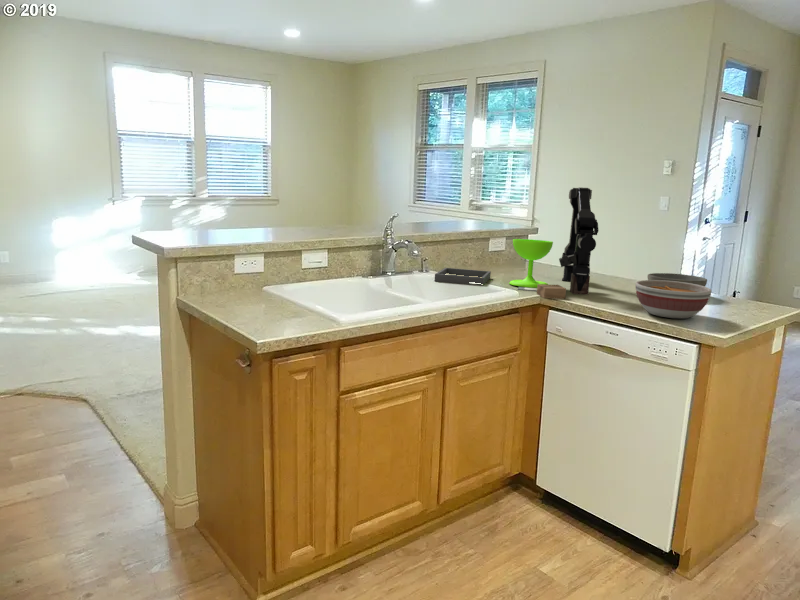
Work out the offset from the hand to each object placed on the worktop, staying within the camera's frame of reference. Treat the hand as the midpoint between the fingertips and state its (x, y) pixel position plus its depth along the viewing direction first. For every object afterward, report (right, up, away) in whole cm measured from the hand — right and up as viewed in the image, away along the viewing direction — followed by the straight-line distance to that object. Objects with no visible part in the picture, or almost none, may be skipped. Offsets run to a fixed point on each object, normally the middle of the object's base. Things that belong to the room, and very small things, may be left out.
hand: (579, 289), depth 235 cm
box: (0, -2, 0) cm, 2 cm away
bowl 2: (+20, -10, -34) cm, 40 cm away
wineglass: (-17, +2, +12) cm, 21 cm away
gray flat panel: (-15, 0, +5) cm, 16 cm away
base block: (-13, -3, -8) cm, 16 cm away
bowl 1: (+38, -3, +3) cm, 38 cm away
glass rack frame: (-43, +4, +21) cm, 48 cm away
